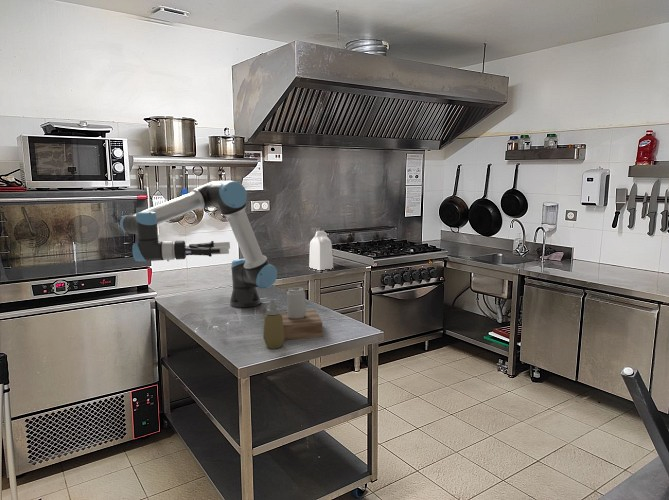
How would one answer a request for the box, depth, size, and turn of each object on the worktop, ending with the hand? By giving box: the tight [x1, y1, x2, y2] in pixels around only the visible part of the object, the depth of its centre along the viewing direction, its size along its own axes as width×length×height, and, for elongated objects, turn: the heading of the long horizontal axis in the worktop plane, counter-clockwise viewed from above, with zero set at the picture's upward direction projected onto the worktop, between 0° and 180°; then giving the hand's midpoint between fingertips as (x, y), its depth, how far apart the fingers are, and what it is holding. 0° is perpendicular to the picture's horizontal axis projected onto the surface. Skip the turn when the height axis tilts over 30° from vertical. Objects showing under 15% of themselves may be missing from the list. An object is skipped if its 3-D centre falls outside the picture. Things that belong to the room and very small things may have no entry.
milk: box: [308, 230, 334, 271], centre depth 324 cm, size 12×12×26 cm
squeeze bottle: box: [262, 299, 285, 349], centre depth 178 cm, size 8×8×18 cm
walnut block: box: [279, 309, 324, 341], centre depth 196 cm, size 18×18×6 cm
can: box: [286, 286, 307, 319], centre depth 194 cm, size 8×8×12 cm
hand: (229, 247), depth 194 cm, fingers open, 13 cm apart
